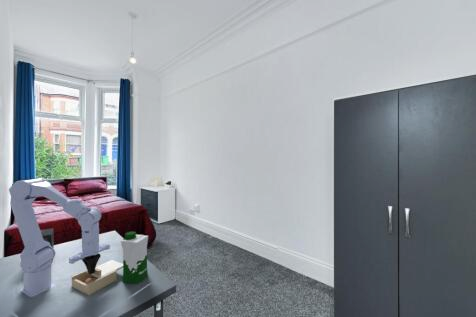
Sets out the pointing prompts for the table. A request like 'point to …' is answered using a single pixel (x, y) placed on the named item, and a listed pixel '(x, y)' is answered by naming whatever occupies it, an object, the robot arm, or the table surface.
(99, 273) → the lid
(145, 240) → the milk carton
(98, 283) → the box
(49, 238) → the tampon box
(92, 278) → the ball
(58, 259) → the table surface
